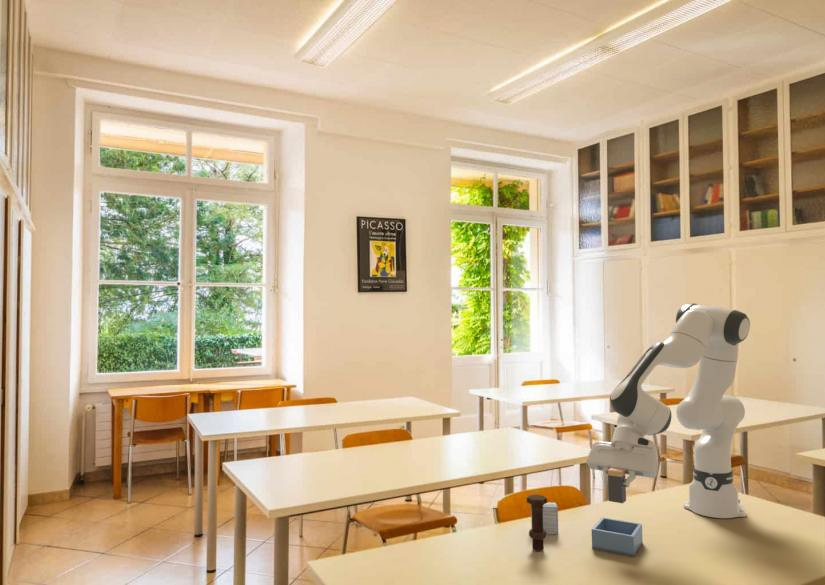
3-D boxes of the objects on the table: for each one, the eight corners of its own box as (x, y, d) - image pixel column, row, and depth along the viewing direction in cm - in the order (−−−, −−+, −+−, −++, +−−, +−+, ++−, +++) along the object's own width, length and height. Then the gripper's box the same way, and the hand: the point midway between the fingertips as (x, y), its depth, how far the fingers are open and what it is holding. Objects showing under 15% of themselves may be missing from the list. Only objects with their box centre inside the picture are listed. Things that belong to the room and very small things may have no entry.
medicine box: (556, 530, 186) (556, 502, 186) (558, 535, 181) (558, 506, 182) (531, 529, 186) (530, 501, 187) (532, 534, 182) (532, 506, 182)
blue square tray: (602, 535, 180) (602, 517, 180) (642, 543, 174) (642, 523, 174) (592, 548, 170) (591, 529, 170) (634, 557, 164) (633, 536, 164)
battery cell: (612, 498, 175) (611, 467, 175) (626, 500, 172) (624, 469, 172) (608, 501, 172) (607, 469, 173) (622, 503, 170) (621, 471, 170)
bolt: (541, 555, 167) (540, 501, 167) (525, 550, 170) (524, 498, 170) (550, 548, 171) (549, 495, 172) (534, 544, 174) (533, 493, 175)
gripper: (590, 434, 185) (578, 473, 177) (658, 442, 172) (649, 483, 164) (596, 446, 188) (585, 484, 180) (663, 454, 175) (654, 496, 167)
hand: (616, 484), depth 172 cm, fingers closed on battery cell, 4 cm apart
